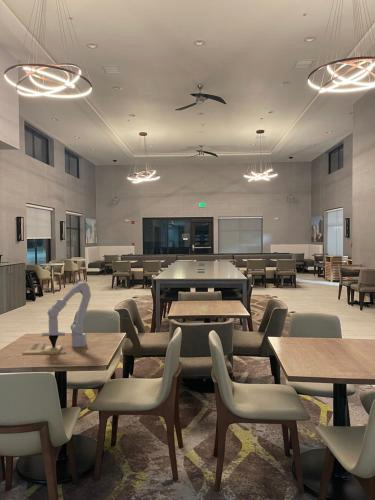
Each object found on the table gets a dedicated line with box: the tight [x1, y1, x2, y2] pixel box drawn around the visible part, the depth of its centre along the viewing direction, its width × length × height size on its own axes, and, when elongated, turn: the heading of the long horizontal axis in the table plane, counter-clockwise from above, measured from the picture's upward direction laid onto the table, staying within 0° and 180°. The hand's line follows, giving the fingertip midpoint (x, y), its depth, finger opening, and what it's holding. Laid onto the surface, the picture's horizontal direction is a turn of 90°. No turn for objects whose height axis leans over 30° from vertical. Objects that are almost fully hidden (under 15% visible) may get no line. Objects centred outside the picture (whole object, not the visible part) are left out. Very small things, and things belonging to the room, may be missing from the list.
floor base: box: [22, 347, 64, 356], centre depth 264 cm, size 22×14×2 cm, turn 91°
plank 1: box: [26, 342, 46, 350], centre depth 266 cm, size 10×6×1 cm, turn 91°
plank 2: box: [44, 345, 64, 351], centre depth 267 cm, size 10×6×1 cm, turn 91°
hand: (53, 346), depth 268 cm, fingers closed, pressing on plank 2
